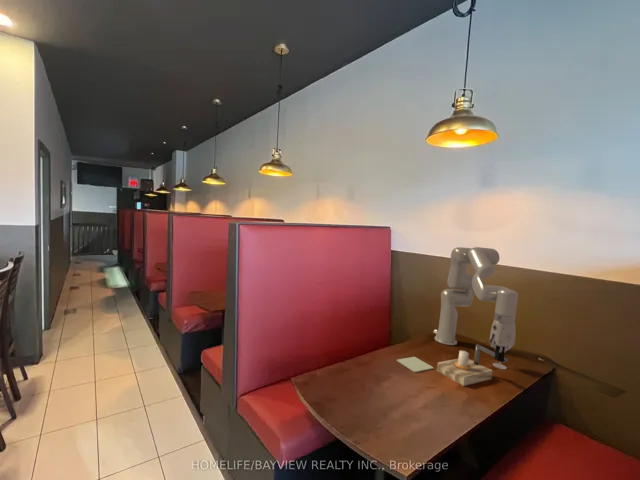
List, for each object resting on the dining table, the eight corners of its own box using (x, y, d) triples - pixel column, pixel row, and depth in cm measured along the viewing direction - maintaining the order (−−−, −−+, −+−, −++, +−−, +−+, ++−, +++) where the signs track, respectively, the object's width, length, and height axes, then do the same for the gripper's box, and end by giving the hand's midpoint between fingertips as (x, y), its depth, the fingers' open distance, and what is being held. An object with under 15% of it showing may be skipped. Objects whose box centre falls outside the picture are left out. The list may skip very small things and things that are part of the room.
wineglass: (504, 364, 160) (508, 330, 159) (512, 371, 152) (517, 335, 151) (487, 361, 161) (492, 328, 160) (495, 369, 153) (499, 333, 152)
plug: (450, 372, 143) (453, 350, 142) (459, 370, 146) (462, 348, 146) (462, 379, 137) (465, 356, 137) (471, 377, 141) (474, 354, 140)
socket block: (436, 370, 144) (437, 362, 144) (464, 364, 154) (465, 357, 154) (463, 386, 132) (464, 377, 132) (491, 378, 142) (492, 370, 141)
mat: (396, 360, 150) (396, 359, 150) (414, 357, 156) (414, 356, 156) (415, 372, 140) (415, 371, 140) (433, 368, 146) (433, 367, 146)
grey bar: (472, 362, 147) (475, 344, 147) (475, 362, 148) (478, 344, 147) (501, 380, 132) (504, 359, 131) (505, 379, 133) (508, 359, 132)
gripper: (499, 321, 125) (494, 365, 126) (525, 321, 131) (519, 363, 132) (484, 315, 132) (478, 357, 133) (508, 315, 138) (503, 355, 139)
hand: (498, 360), depth 132 cm, fingers closed
